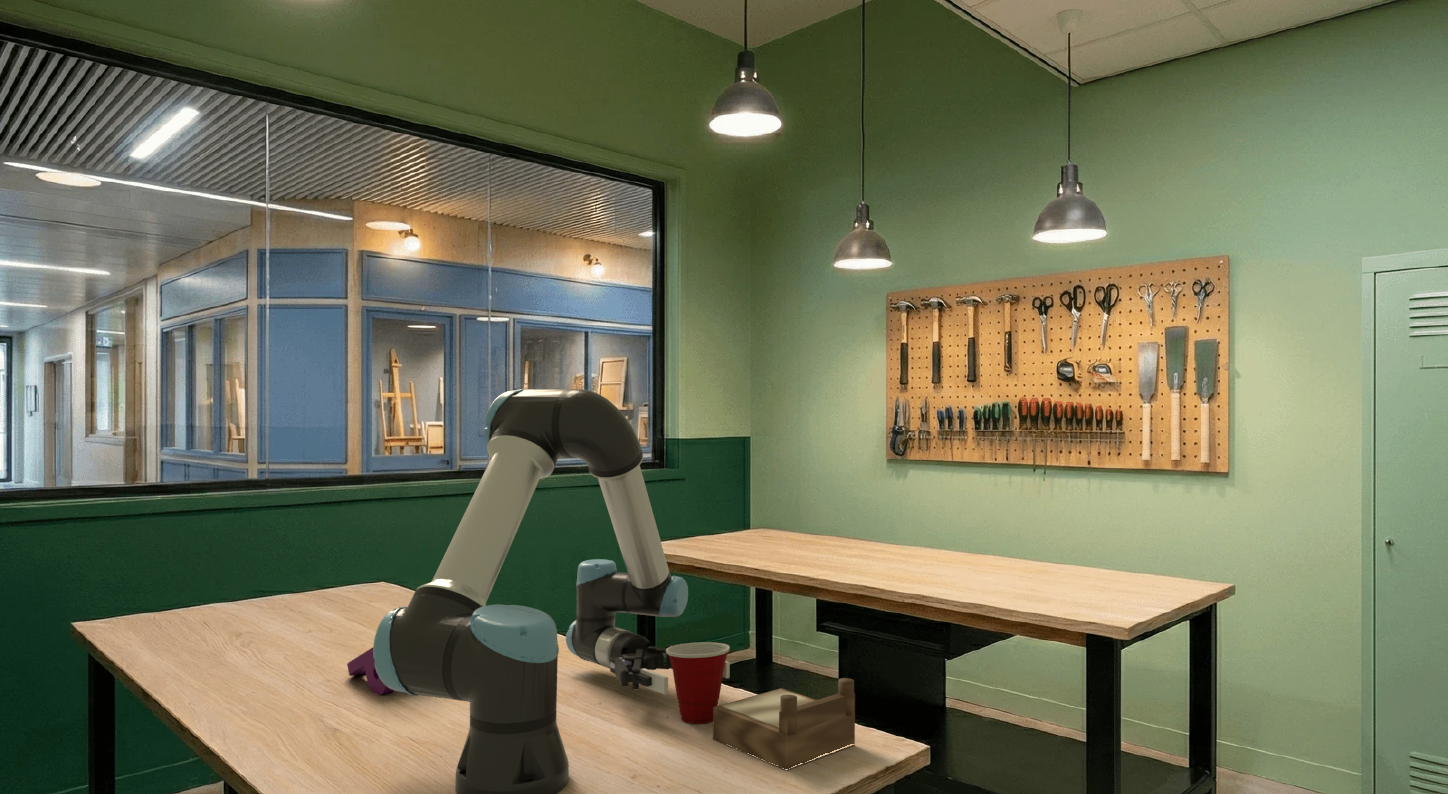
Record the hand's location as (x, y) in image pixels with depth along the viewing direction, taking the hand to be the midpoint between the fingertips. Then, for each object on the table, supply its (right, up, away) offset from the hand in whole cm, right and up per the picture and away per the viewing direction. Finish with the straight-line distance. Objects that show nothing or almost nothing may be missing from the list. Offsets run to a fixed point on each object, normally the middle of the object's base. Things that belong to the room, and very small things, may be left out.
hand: (698, 677), depth 149 cm
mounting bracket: (-59, -7, +18) cm, 62 cm away
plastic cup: (0, -7, -1) cm, 7 cm away
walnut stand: (+14, -6, -12) cm, 19 cm away
